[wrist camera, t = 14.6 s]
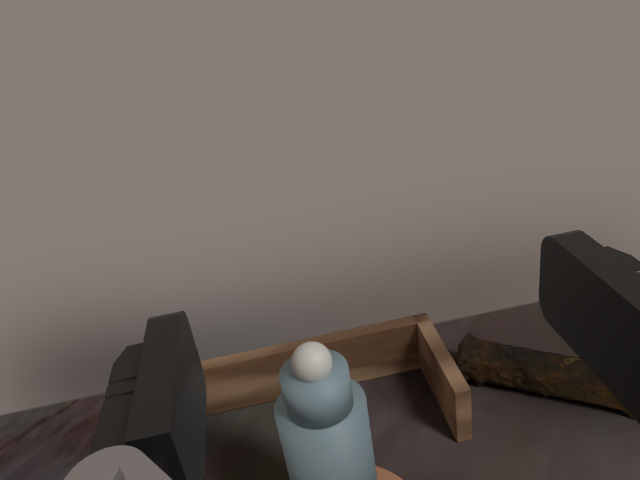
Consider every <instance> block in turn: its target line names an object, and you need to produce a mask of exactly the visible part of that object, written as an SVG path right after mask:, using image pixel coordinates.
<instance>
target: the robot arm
mask: <svg viewBox="0 0 640 480" xmlns="http://www.w3.org/2000/svg"><path fill="white" fill-rule="evenodd" d="M539 301H540V306H541V309H542V312H543V315H544V317H545V319H546V320H547V322H548V323H549V324H550V325H551V326H552V327H553V329H554V330H555V331H556V332H557V333H558V334H559V335H560V336H561V337H562V338H563V340H564V341H565V342H566V343H567V344H568V345H569V346H570V347H571V348H572V350H573V351H574V352H575V353H576V354H577V355H578V356H579V357H580V358H581V359H582V361H583V362H584V363H585V364H586V365H587V366H588V367H589V368H590V369H591V371H592V372H593V373H594V374H595V375H596V376H597V377H598V378H599V379H600V381H601V382H602V383H603V384H604V385H605V386H606V387H607V388H608V389H609V390H610V392H611V393H612V394H613V395H614V396H615V397H616V398H617V399H618V400H619V402H620V403H621V404H622V405H623V406H624V407H625V408H626V409H627V410H628V411H629V413H630V414H631V415H632V416H633V417H634V418H635V419H636V420H637V421H638V423H639V424H640V261H638V260H637V259H636V258H634V257H633V256H631V255H629V254H626V253H624V252H621V251H618V250H616V249H613V248H611V247H608V246H607V247H603V246H602V245H600V244H599V243H598V242H596V241H595V240H594V239H592V238H591V237H590V236H588V235H587V234H585V233H584V232H583V231H580V230H576V231H571V232H566V233H562V234H557V235H552V236H547V237H545V238H544V239H543V241H542V245H541V259H540V284H539ZM206 401H207V394H206V383H205V377H204V372H203V368H202V365H201V361H200V358H199V355H198V351H197V348H196V345H195V341H194V338H193V335H192V331H191V328H190V325H189V321H188V318H187V316H186V313H185V312H184V311H180V312H175V313H170V314H165V315H160V316H156V317H151V318H149V319H148V321H147V326H146V331H145V337H144V342H143V343H140V344H136V345H131V346H127V347H126V348H125V350H124V351H123V352H122V354H121V355H120V356H119V357H118V359H117V360H116V361H115V362H114V364H113V367H112V371H111V374H110V378H109V386H108V387H107V390H106V394H105V401H104V402H103V406H102V410H101V414H100V418H99V422H98V426H97V430H96V434H95V437H94V441H93V445H92V449H91V453H90V455H89V456H88V457H86V458H84V459H83V460H82V461H81V462H79V463H78V464H77V465H76V466H75V467H74V468H73V469H72V470H71V471H70V472H69V473H68V475H67V476H66V478H65V479H64V480H205V444H206Z"/></svg>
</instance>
